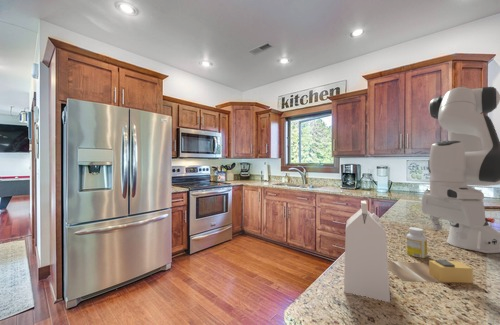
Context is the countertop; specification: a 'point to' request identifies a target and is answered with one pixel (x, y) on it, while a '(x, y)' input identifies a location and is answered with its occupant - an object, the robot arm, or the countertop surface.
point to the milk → (366, 256)
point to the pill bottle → (416, 243)
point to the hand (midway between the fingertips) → (448, 234)
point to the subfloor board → (414, 272)
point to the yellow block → (451, 271)
